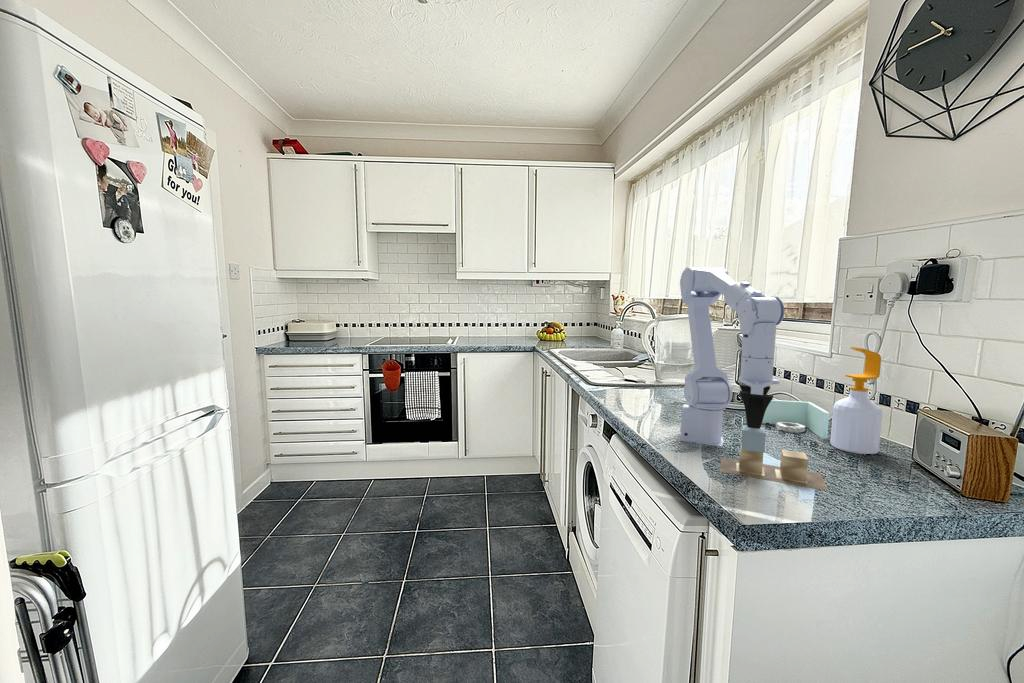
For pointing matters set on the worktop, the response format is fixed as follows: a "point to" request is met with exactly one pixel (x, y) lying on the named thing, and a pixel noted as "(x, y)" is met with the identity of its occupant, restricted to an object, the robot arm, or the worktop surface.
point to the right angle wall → (797, 417)
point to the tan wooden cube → (794, 465)
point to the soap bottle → (858, 413)
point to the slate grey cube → (753, 439)
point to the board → (773, 474)
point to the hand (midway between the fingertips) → (753, 422)
